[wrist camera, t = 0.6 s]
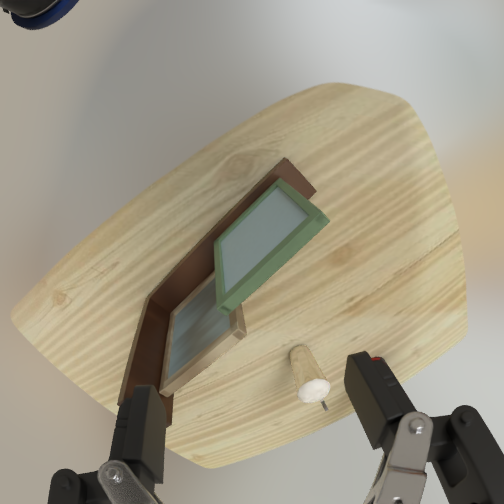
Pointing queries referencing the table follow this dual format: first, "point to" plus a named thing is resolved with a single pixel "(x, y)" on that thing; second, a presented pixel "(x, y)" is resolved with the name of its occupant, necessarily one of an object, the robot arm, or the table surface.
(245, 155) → the table surface
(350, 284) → the table surface
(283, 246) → the panel
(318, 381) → the milkshake
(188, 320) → the window frame
